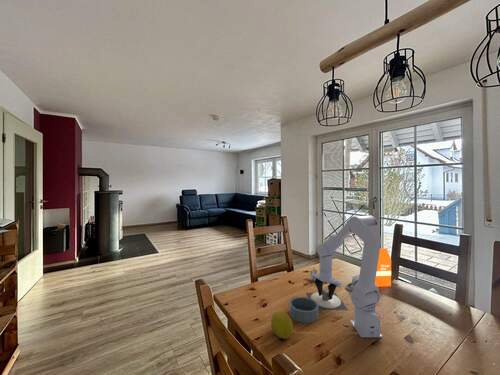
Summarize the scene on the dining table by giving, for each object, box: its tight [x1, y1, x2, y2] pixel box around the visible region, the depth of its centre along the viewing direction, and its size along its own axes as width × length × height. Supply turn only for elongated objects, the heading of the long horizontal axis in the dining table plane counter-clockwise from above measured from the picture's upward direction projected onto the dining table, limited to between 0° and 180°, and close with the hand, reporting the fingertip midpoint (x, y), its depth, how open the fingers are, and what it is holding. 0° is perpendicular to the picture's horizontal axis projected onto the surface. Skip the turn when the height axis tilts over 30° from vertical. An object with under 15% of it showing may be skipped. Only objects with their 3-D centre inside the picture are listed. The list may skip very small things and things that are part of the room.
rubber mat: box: [305, 292, 349, 311], centre depth 106 cm, size 15×15×1 cm
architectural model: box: [307, 266, 318, 282], centre depth 130 cm, size 3×7×7 cm, turn 1°
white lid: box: [311, 289, 342, 309], centre depth 106 cm, size 14×14×4 cm
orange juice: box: [375, 247, 392, 288], centre depth 125 cm, size 8×9×20 cm
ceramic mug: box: [345, 274, 360, 291], centre depth 117 cm, size 11×8×8 cm
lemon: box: [270, 310, 294, 340], centre depth 83 cm, size 11×8×8 cm
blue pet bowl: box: [288, 296, 320, 324], centre depth 95 cm, size 12×12×5 cm
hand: (325, 296), depth 106 cm, fingers open, 4 cm apart
